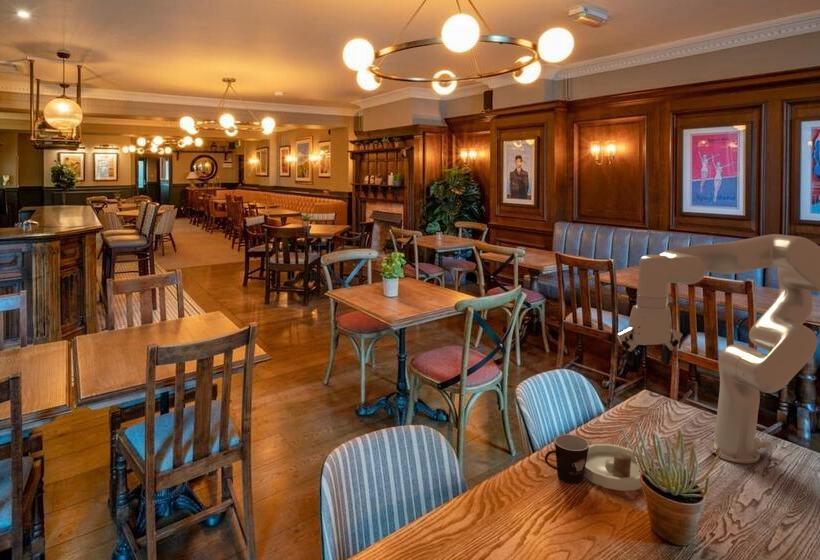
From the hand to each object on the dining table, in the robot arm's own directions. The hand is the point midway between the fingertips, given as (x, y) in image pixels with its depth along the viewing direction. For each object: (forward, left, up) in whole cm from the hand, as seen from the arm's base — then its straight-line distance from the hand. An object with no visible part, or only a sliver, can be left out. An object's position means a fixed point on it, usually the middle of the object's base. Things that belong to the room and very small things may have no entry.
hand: (647, 363), depth 137 cm
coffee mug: (+24, +7, -28) cm, 38 cm away
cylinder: (+10, +10, -28) cm, 31 cm away
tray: (+10, +5, -28) cm, 30 cm away
